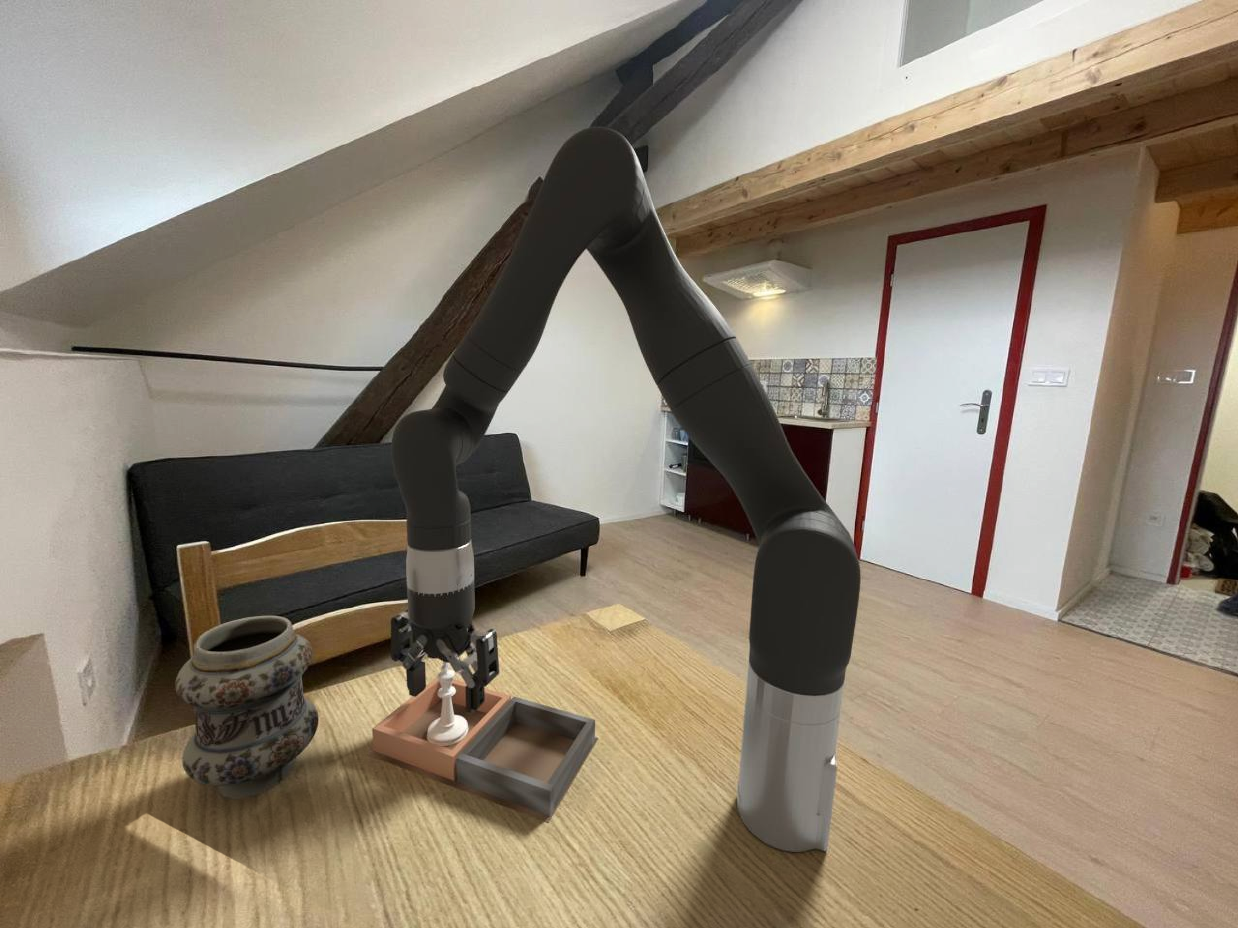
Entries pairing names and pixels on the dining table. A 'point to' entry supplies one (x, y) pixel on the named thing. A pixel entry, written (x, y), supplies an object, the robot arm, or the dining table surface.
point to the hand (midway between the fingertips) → (445, 700)
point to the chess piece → (447, 714)
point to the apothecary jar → (247, 705)
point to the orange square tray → (423, 752)
